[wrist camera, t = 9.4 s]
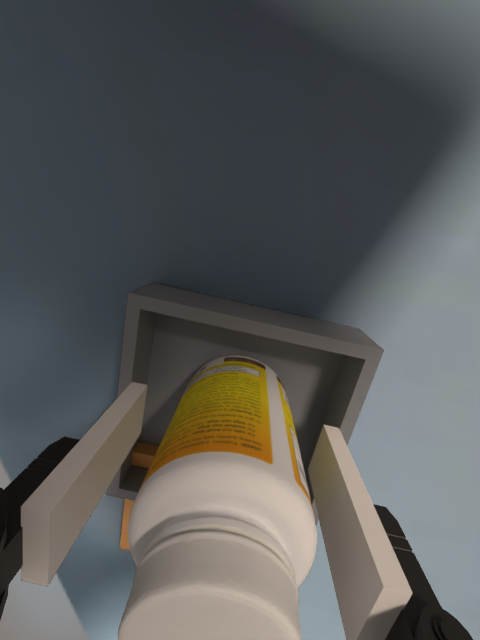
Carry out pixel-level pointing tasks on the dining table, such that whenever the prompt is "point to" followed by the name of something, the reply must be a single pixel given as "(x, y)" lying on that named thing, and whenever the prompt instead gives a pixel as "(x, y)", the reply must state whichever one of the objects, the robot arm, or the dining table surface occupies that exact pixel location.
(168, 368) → the parts tray
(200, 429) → the supplement bottle
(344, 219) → the dining table surface
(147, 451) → the fuse puller tool
